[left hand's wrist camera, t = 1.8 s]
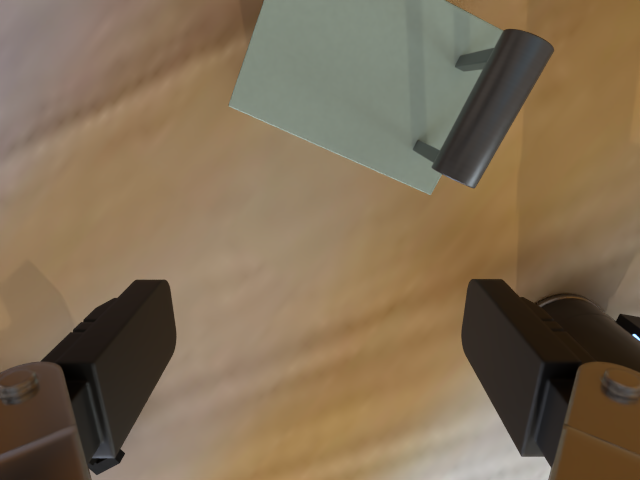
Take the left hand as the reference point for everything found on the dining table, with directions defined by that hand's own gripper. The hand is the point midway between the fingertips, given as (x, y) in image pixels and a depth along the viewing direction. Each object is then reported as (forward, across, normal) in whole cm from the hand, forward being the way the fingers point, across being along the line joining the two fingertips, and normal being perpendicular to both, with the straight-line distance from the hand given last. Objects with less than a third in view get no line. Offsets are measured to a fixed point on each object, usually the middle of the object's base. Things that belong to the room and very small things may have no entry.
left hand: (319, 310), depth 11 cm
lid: (+17, +3, +7) cm, 19 cm away
